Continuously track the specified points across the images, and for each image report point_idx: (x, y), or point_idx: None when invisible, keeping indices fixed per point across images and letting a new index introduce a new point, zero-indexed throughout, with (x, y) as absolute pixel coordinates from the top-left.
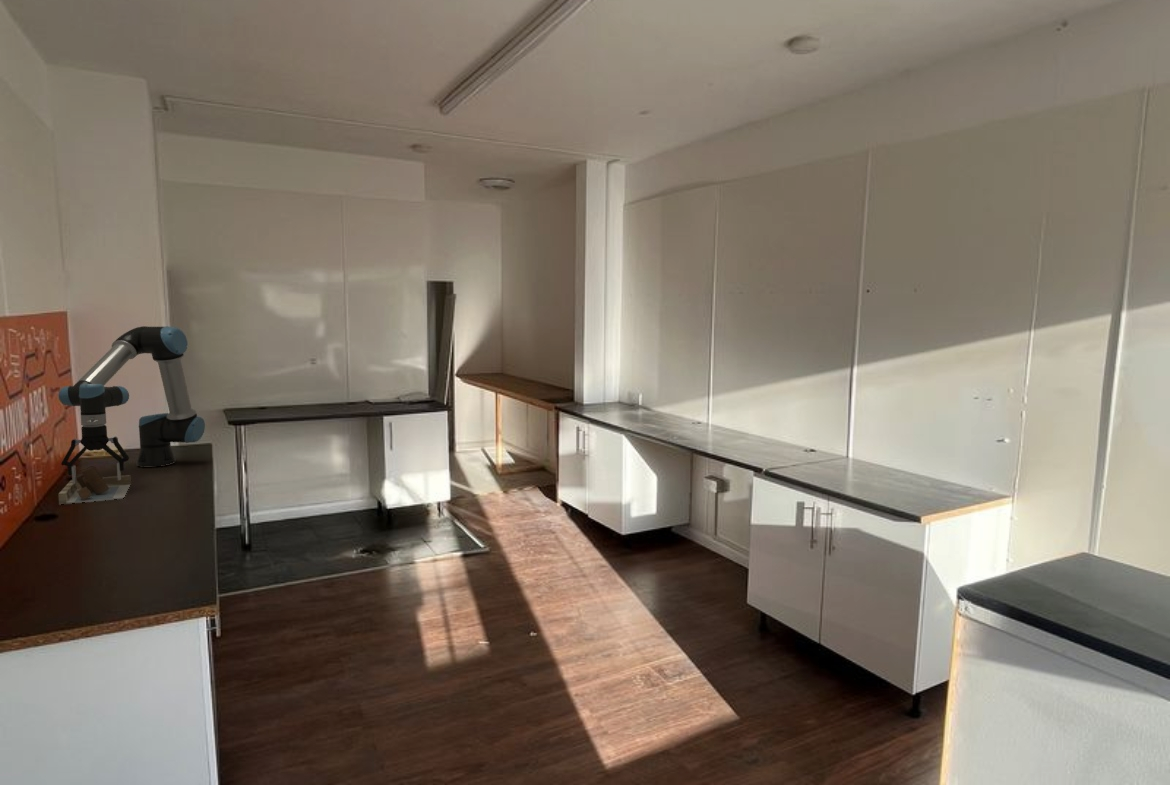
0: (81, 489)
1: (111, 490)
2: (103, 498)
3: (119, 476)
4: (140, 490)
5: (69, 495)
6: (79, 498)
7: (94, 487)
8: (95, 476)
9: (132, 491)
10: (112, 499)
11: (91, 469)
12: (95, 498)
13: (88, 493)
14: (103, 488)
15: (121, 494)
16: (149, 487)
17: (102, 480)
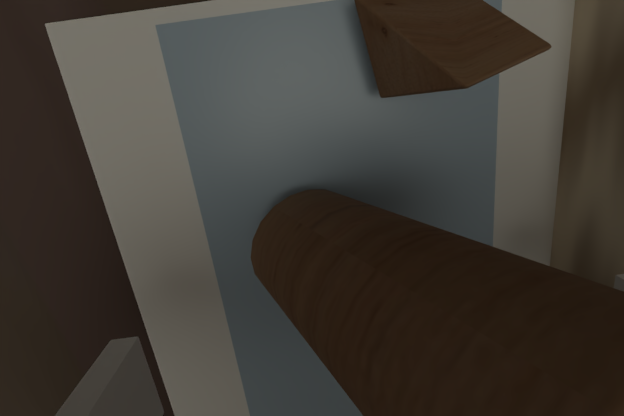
0: (505, 59)
1: (270, 337)
2: (240, 13)
3: (87, 381)
4: (62, 336)
5: (580, 165)
6: (475, 94)
7: (375, 206)
8: (392, 275)
9: (115, 320)
10: (158, 12)
11: (555, 392)
12: (321, 34)
13: (398, 13)
14: (285, 214)
15: (130, 172)
16: (37, 412)
17: (295, 283)
